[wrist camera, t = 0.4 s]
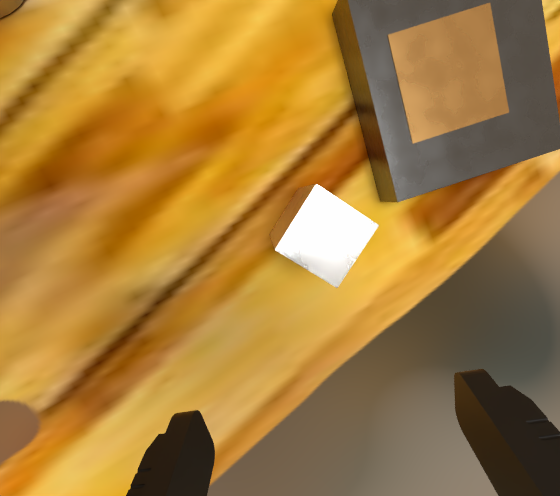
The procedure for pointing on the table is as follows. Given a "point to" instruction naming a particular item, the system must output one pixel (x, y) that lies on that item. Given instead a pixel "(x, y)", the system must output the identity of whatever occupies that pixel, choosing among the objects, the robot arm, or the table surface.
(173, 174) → the table surface
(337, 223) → the aluminium block
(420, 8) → the steel plate
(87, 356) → the table surface
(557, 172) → the table surface
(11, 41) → the table surface
